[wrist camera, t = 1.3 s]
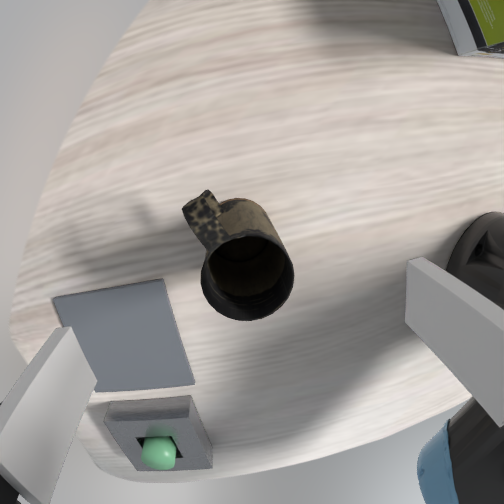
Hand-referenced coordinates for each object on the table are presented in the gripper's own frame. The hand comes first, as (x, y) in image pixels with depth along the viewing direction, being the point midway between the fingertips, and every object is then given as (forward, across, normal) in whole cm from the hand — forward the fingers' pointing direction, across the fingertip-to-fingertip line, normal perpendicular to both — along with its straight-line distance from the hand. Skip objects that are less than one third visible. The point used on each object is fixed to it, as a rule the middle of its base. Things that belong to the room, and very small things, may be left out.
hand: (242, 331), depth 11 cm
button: (+14, +13, +22) cm, 30 cm away
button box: (+17, +13, +22) cm, 31 cm away
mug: (+17, 0, 0) cm, 17 cm away
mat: (+17, +13, +10) cm, 23 cm away
